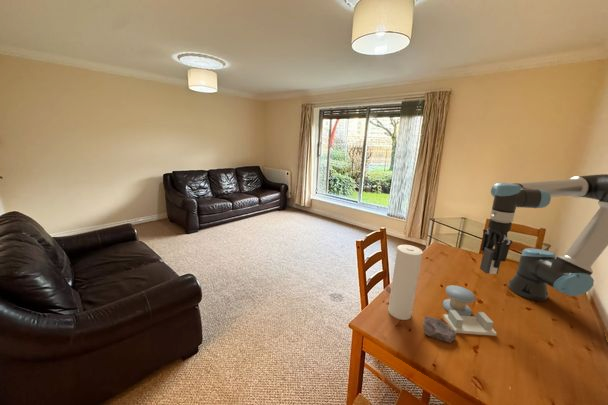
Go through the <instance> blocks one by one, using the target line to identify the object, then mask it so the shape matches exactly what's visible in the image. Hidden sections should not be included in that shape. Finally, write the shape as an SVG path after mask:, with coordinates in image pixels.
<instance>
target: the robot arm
mask: <svg viewBox="0 0 608 405" xmlns="http://www.w3.org/2000/svg"><path fill="white" fill-rule="evenodd" d="M490 194H491V196H492V197H494V198H493V200H492V201H493V202H492V207H491V212H490V216H489V218H490V219H488V224H487V228H488V229H483V230H482V233H483V236H482V239H481V246H480V251H482V253H484V248H492V249H495V251H494V259H492V262H491V266H490V270H489V273H490V275H491V274H492V275H497V274H496V273H497V269H498V268H499V269H500V266H501V262H506V260H507V258H508V257H507V256H508V255H509V254H508V253H509V251H510V250H509V249H510V247H511V245H512V244H513V240H512V239H509V238H508V233H509V232H510V231H511V228H512V222H513V221H514V216H515V213H516V211H517V210H516V209H517V208H527V209H529V208H530V209H542V208H546V207H547V206H549V205H550V203H551V199H552V198H557V197H558V198H559V197H572V198H584V199H585V198H586V199H592V200H597V201H598V202H597V204H598V205H599V208H598V210H597V211H596V212H595V214H594V215H593V216H592V217H591V219H590V220H589V222H588V223H587V224H586V226H585V227H584V228H583V229H582V231H581V232H580V233H579V235H578V236H577V237H576V238H575V240H574V241H573V243H571V245H570V247H569V248H568V250H567V251H566V252H565V253H564V254H562V255H561V254H560V255H556V254H555V253H554V252H552V251H550V250H549V251H548V250H544V249H539V248H534V247H533V248H532V247H529V248H528V247H527V248H524V249H523V250H522V252H521V255H520V256H519V261H518V266H517V268H516V269H517V270H516V272H515V274H514V276H513V277H512V278H511V279H510V280H509V281H508V285H507V287H508V289H509V290H510V291H511V292H512V293H514V294H517V296H520V297H523V298H525V299H528V300H532V301H538V302H545V301H547V300H548V296H549V293H548V286H550V287H551V288H553V289H555V290H556V291H558V292H560V293H562V294H564V295H567V296H570V297H577V296H582V295H584V294H586V293H588V292H590V290H591V289H592V288H593V287H594V282H595V280H594V278H593V277H592V275H593V273H594V271H593V269H592V266H593V264H595V262H596V261H597V260H598V258H599V257H600V256H601V255H602V254H603V252H604V251H605V249H606V248H607V247H608V173H606V174H605V173H604V174H602V173H600V174H591V175H590V174H589V175H580V176H579V175H578V176H572V177H569V179H555V180H545V181H544V180H542V181H540V180H539V181H530V182H518V183H517V182H515V183H508V182H497V183H494V184H493V185H492V186H491V188H490ZM499 265H500V266H499Z"/></svg>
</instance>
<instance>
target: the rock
mask: <svg viewBox="0 0 608 405" xmlns="http://www.w3.org/2000/svg"><path fill="white" fill-rule="evenodd" d="M422 325H423V327H422V328H423V332H424V334H425V335H426V336H428V337H430V338H434V339H436V340H439V341H442V342H446V343H452V341H455V340H456V338H457V333H456V331H455V330H453V329H451V327H450V326H449V325H448V324H446V322H444V321H443V320H442V319H440V318H435V317H431V316H424V318H423V322H422Z"/></svg>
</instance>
